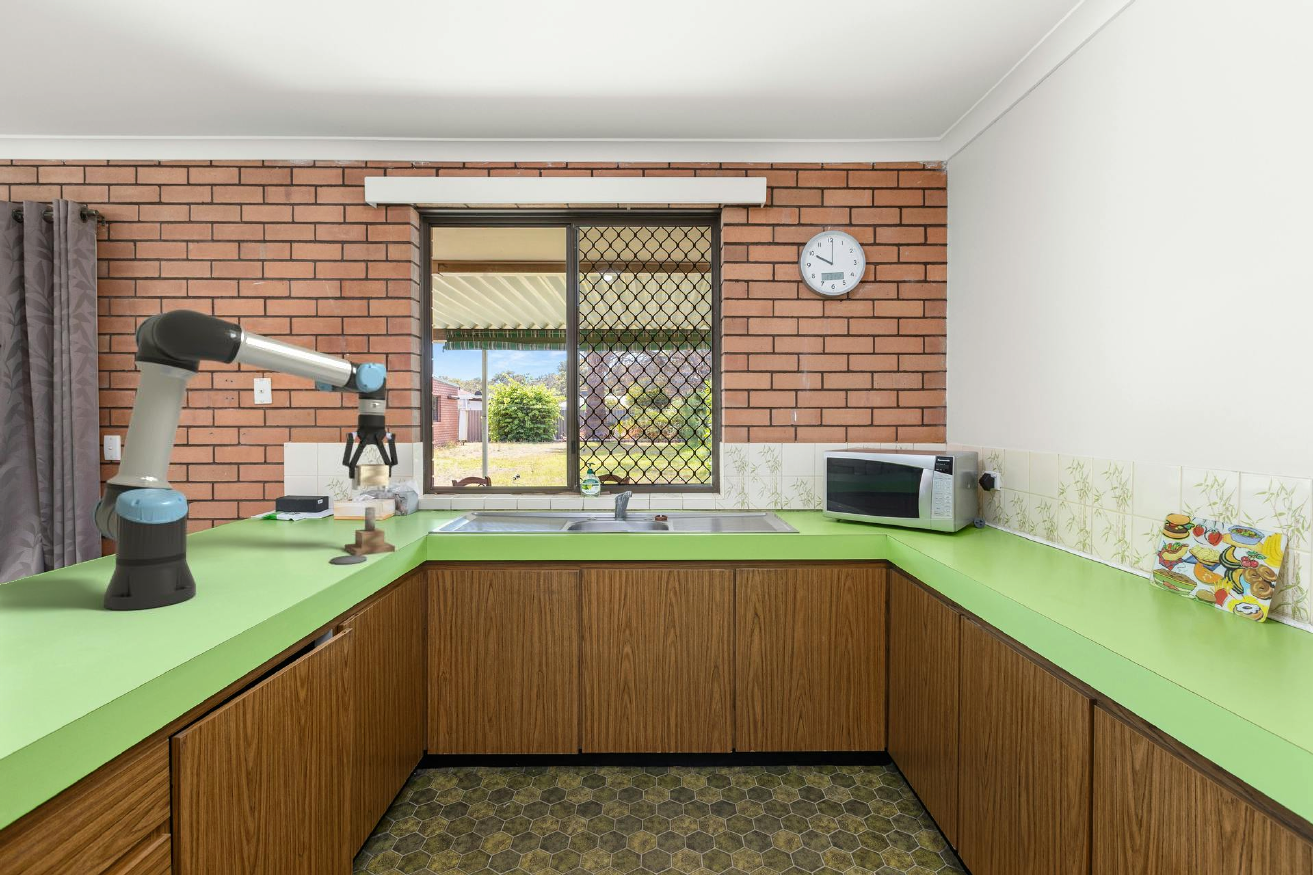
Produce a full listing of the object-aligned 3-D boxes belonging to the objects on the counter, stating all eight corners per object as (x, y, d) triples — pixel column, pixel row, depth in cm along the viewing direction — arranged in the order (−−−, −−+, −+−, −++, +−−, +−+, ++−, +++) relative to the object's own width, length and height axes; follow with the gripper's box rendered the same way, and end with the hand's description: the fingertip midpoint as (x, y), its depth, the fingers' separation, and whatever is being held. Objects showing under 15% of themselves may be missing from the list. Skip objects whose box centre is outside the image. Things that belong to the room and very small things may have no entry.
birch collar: (360, 486, 176) (360, 466, 175) (352, 484, 181) (352, 464, 181) (388, 485, 181) (389, 465, 181) (379, 483, 187) (379, 464, 187)
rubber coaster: (335, 566, 161) (335, 563, 161) (326, 560, 168) (326, 557, 168) (371, 561, 167) (371, 559, 167) (360, 555, 174) (360, 553, 174)
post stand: (355, 555, 174) (356, 511, 174) (344, 549, 182) (345, 507, 182) (394, 551, 181) (395, 508, 181) (382, 545, 189) (382, 504, 189)
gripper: (338, 412, 171) (336, 491, 171) (411, 415, 185) (409, 488, 186) (330, 412, 177) (328, 489, 177) (402, 415, 191) (400, 486, 191)
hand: (370, 488), depth 181 cm, fingers closed on birch collar, 8 cm apart
